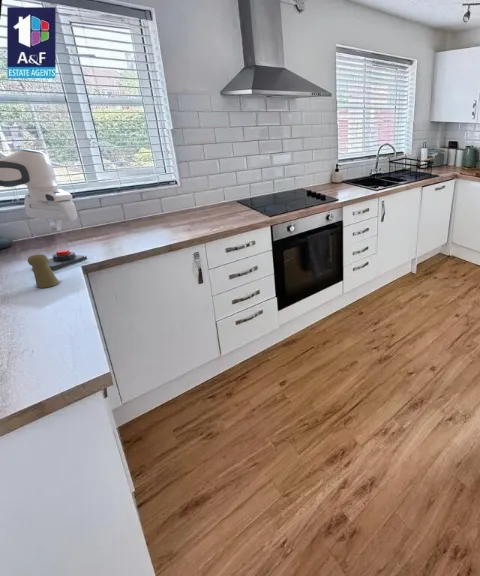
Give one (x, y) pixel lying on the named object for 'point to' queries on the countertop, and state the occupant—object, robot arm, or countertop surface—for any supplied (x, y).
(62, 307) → the countertop surface
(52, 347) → the countertop surface
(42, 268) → the olive brown upright piece
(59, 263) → the dark grey base
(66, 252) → the power button
